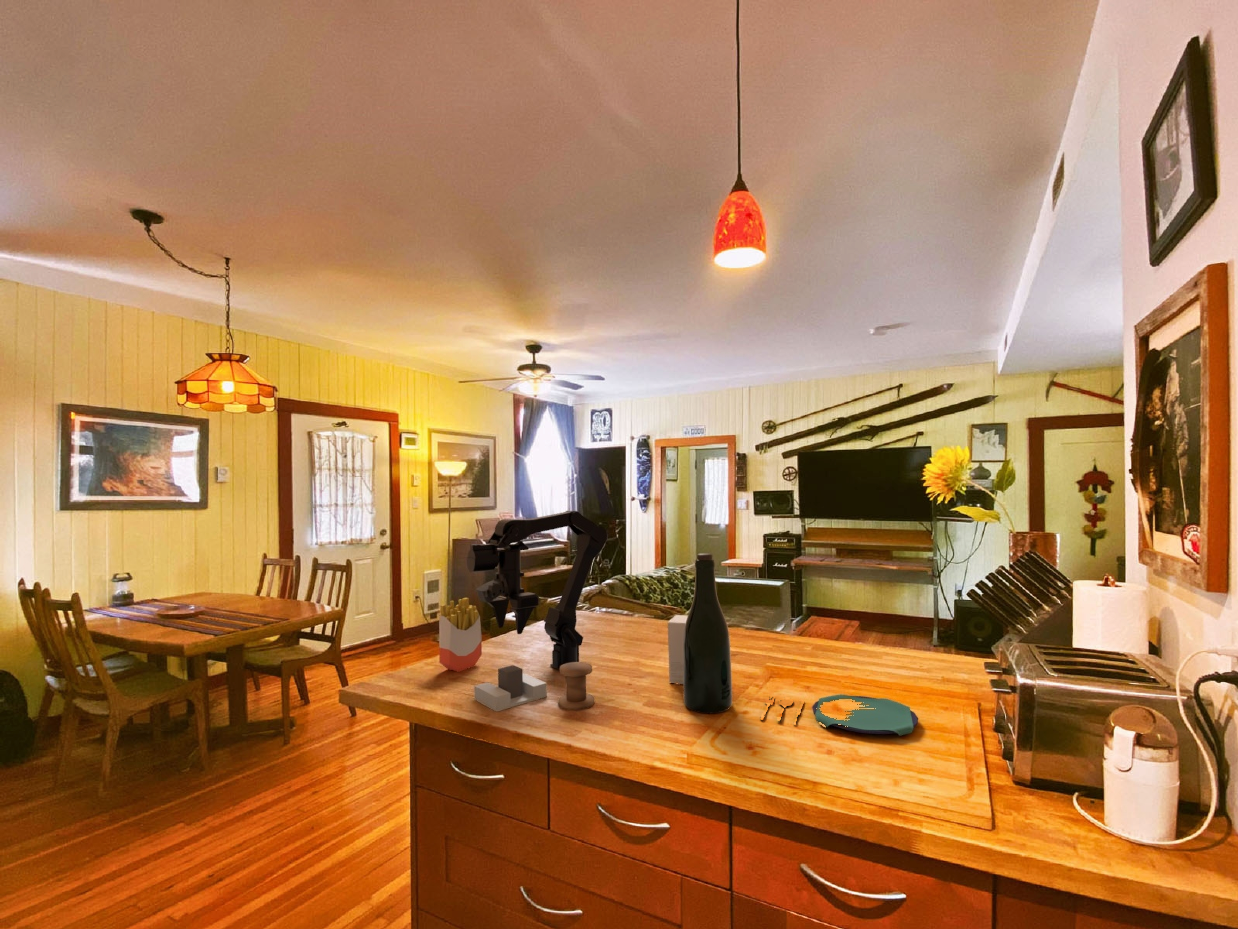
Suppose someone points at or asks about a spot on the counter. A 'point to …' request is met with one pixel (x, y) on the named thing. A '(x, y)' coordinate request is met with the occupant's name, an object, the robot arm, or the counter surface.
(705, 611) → the wine bottle
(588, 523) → the robot arm
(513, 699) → the notched board
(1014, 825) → the counter surface
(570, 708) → the bobbin
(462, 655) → the french fries container
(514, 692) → the block
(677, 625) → the supplement box
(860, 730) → the teal oval plate
